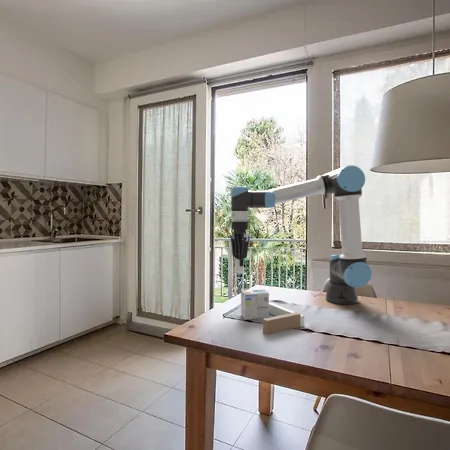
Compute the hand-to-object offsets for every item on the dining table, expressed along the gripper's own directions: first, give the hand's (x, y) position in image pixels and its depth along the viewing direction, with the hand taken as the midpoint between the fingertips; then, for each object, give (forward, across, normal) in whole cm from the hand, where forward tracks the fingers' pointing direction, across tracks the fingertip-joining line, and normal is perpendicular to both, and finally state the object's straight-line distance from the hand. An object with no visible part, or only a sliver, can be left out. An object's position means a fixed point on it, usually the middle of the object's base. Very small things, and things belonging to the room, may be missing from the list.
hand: (239, 273), depth 148 cm
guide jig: (+16, +19, 0) cm, 25 cm away
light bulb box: (+17, +12, 0) cm, 21 cm away
